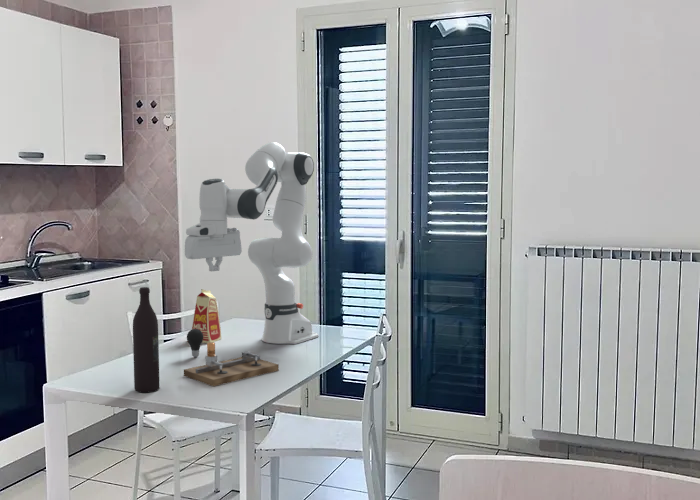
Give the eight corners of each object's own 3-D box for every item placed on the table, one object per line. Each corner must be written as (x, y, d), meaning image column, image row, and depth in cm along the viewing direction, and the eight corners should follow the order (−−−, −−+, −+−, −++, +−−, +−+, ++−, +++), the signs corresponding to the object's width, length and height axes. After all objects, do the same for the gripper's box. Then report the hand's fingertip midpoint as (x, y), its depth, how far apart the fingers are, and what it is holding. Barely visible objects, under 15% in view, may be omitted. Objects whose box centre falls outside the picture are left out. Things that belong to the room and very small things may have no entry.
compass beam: (256, 358, 236) (256, 349, 235) (269, 362, 231) (269, 352, 231) (194, 372, 218) (194, 362, 218) (206, 376, 214) (206, 366, 214)
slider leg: (212, 367, 223) (211, 341, 222) (224, 371, 219) (224, 345, 218) (205, 368, 222) (205, 343, 221) (218, 373, 217) (217, 346, 216)
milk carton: (210, 343, 266) (209, 290, 264) (189, 341, 269) (188, 289, 267) (223, 338, 274) (222, 287, 272) (202, 336, 277) (201, 285, 275)
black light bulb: (199, 359, 242) (199, 330, 241) (184, 359, 243) (183, 330, 242) (206, 355, 247) (205, 327, 246) (191, 355, 248) (190, 326, 247)
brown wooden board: (247, 361, 240) (247, 355, 240) (278, 370, 229) (278, 364, 228) (183, 375, 222) (183, 369, 222) (213, 386, 211) (213, 379, 211)
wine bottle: (157, 392, 204) (154, 289, 201) (132, 393, 204) (129, 289, 201) (161, 385, 211) (159, 285, 208) (137, 386, 211) (134, 286, 208)
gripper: (233, 227, 242) (234, 267, 243) (181, 229, 227) (182, 272, 228) (245, 227, 237) (245, 269, 239) (192, 230, 223) (193, 274, 224)
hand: (214, 271), depth 233 cm, fingers closed
